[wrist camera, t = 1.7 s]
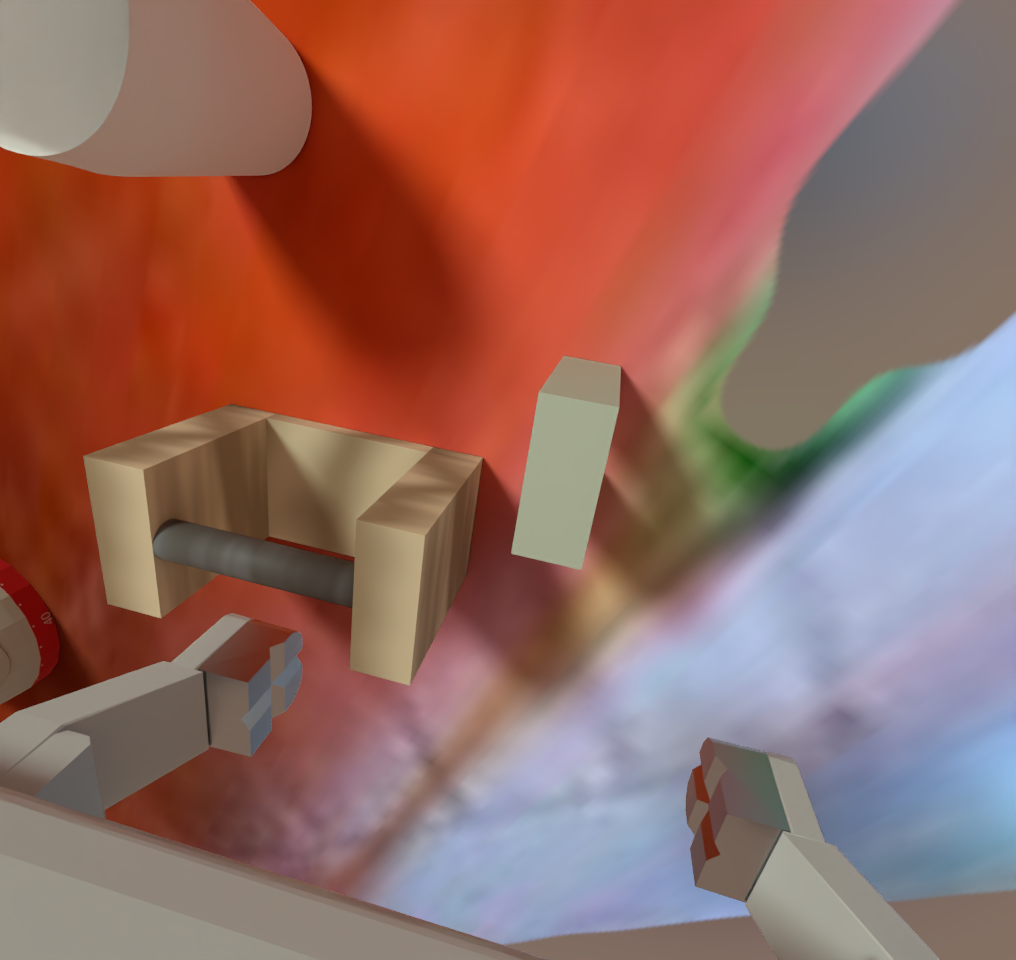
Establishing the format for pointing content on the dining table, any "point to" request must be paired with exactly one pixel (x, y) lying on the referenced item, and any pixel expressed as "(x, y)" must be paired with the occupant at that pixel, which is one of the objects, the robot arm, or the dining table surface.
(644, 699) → the dining table surface
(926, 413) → the dining table surface
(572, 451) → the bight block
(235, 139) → the cup
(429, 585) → the wooden frame with rod
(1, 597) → the kitchen timer
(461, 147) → the dining table surface
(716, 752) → the robot arm
